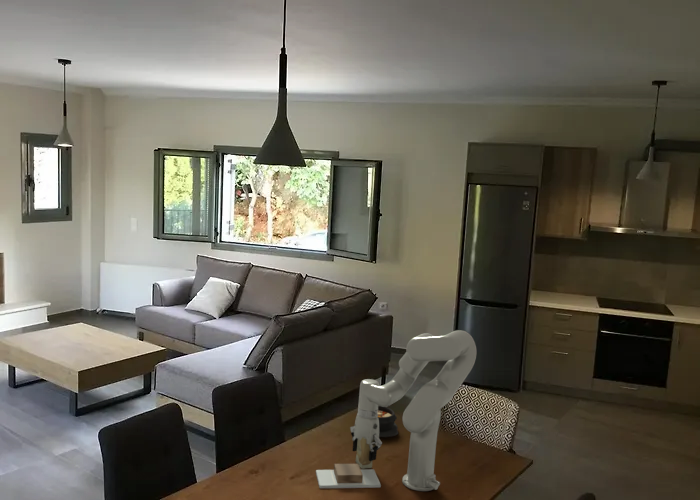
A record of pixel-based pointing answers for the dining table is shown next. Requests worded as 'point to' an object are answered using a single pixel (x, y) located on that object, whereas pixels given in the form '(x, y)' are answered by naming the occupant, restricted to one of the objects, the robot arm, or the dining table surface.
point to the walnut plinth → (348, 473)
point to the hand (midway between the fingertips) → (364, 455)
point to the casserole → (387, 422)
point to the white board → (329, 481)
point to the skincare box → (363, 454)
